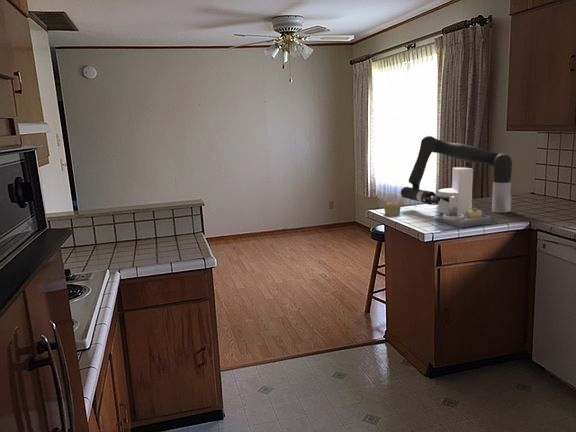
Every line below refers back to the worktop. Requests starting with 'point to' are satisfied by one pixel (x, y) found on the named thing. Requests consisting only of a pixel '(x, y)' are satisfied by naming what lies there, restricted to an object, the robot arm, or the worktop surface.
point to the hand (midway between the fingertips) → (444, 201)
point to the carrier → (467, 219)
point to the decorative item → (392, 208)
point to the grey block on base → (453, 207)
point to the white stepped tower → (458, 191)
